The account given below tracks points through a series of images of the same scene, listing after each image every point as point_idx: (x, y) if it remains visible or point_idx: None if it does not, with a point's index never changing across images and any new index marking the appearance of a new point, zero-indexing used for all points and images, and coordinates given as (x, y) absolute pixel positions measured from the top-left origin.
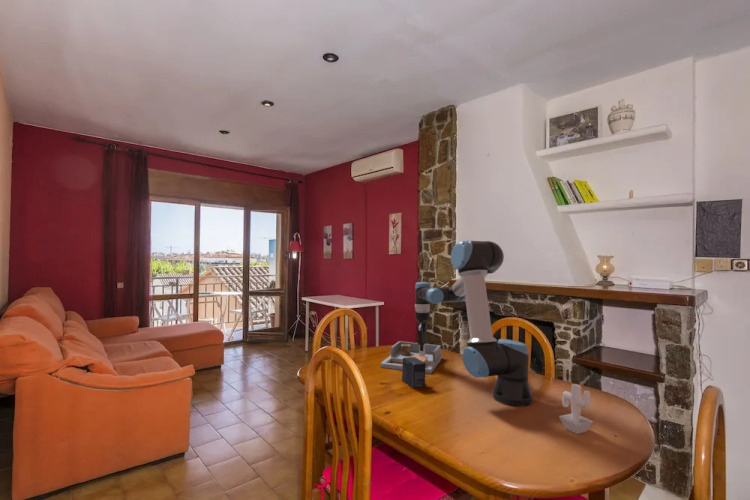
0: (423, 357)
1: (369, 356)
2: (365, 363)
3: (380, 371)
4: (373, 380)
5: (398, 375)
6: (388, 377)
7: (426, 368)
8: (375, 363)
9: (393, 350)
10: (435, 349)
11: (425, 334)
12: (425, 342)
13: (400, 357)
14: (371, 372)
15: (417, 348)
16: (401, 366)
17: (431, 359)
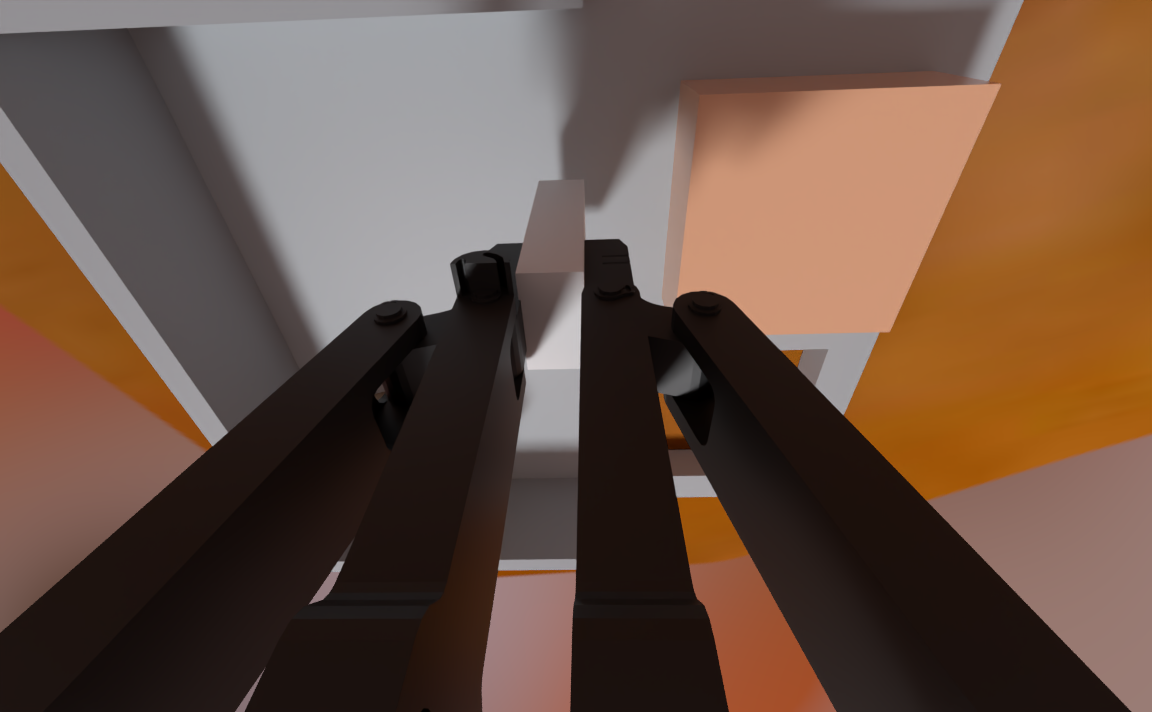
0: (746, 162)
1: (562, 570)
2: (727, 549)
3: (909, 442)
4: (1148, 421)
5: (1037, 299)
6: (1088, 355)
7: (993, 9)
8: (709, 512)
9: (562, 524)
10: (324, 8)
11: (311, 448)
12: (459, 291)
13: (578, 425)
14: (936, 478)
15: (259, 370)
16: (870, 343)
17: (471, 70)
